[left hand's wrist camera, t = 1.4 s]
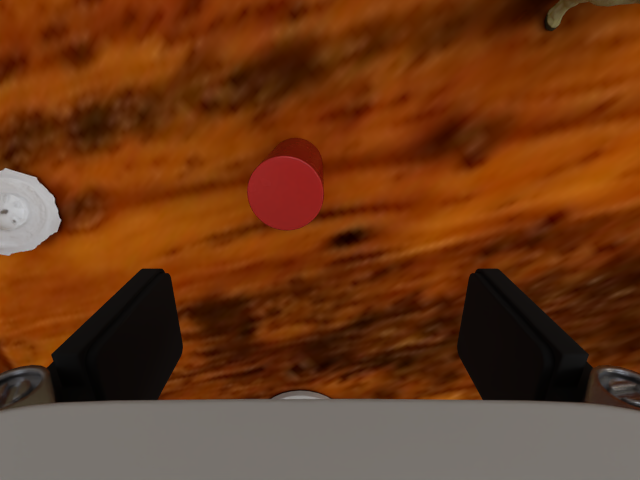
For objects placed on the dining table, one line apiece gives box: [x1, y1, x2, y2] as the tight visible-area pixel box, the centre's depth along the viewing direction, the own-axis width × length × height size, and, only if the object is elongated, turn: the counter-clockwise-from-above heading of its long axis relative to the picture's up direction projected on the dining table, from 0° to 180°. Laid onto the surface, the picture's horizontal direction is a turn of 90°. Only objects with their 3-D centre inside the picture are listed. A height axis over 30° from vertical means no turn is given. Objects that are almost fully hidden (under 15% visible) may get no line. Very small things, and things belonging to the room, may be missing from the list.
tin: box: [247, 138, 324, 230], centre depth 30 cm, size 5×5×12 cm
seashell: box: [0, 168, 61, 256], centre depth 34 cm, size 8×5×8 cm
